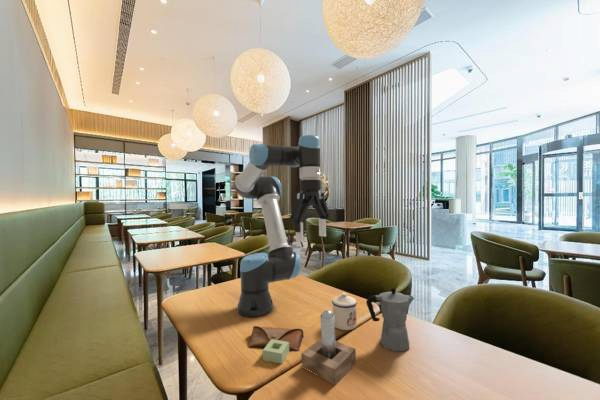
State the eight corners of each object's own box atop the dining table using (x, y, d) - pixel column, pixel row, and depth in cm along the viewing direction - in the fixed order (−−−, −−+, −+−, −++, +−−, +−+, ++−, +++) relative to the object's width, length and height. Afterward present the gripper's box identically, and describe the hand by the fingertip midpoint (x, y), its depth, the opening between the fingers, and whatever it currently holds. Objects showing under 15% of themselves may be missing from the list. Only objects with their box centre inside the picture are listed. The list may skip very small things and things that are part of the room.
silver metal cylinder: (319, 366, 71) (317, 311, 71) (327, 359, 74) (325, 306, 74) (330, 372, 69) (329, 315, 69) (338, 364, 72) (337, 309, 72)
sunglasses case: (244, 348, 81) (247, 324, 84) (251, 348, 87) (253, 326, 90) (300, 351, 78) (301, 327, 82) (303, 351, 84) (304, 328, 88)
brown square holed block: (301, 367, 71) (301, 353, 71) (324, 348, 79) (323, 336, 79) (335, 385, 64) (334, 369, 64) (355, 362, 72) (355, 348, 72)
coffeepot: (408, 334, 86) (407, 282, 86) (422, 351, 77) (421, 292, 77) (363, 336, 86) (362, 283, 86) (371, 353, 77) (370, 294, 76)
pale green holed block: (263, 360, 75) (262, 350, 75) (271, 348, 80) (271, 339, 80) (282, 363, 73) (281, 353, 73) (289, 351, 79) (289, 342, 78)
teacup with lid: (351, 333, 88) (350, 300, 88) (328, 326, 93) (327, 295, 93) (364, 319, 98) (363, 289, 97) (342, 313, 103) (341, 285, 103)
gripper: (295, 177, 79) (297, 245, 79) (337, 180, 98) (339, 234, 98) (278, 179, 84) (279, 243, 84) (321, 181, 103) (323, 233, 103)
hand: (311, 238), depth 91 cm, fingers open, 13 cm apart
